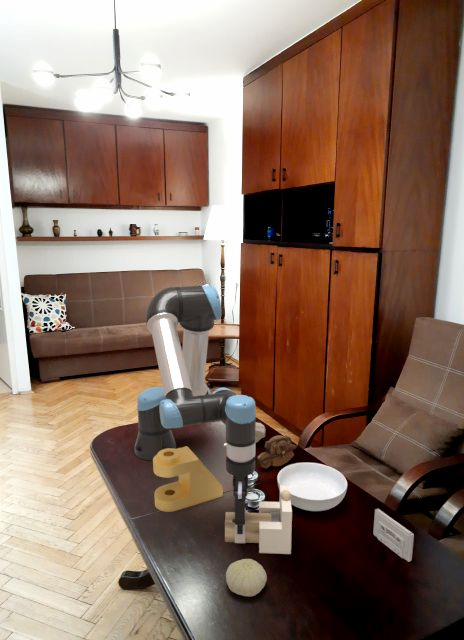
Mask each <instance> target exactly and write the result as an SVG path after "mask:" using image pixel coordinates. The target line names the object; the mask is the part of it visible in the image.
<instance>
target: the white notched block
mask: <svg viewBox="0 0 464 640" xmlns="http://www.w3.org/2000/svg"><path fill="white" fill-rule="evenodd" d="M290 497H291V494H290V492H289V486H280V490H279V501H258V513H271V512H279V521H280V522H262V521H259V543H258V549H259V550H258V553H259V554H276V555H277V554H278V555H279V554H280V555H281V554H282V555H292V527H293V525H292V521H293V509H292V504H291V500H290Z"/></svg>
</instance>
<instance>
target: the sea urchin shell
mask: <svg viewBox="0 0 464 640" xmlns="http://www.w3.org/2000/svg"><path fill="white" fill-rule="evenodd" d="M267 580H268V576H267V573H266V570H265V569H264V567H263V566H262V565H261V564H260V563H259V562H258V561H256V560H254V559H252V558H243V559H239V560H236V561H233V562H231V563H230V564H229V566H228V567H227V570H226V572H225V581H226V585H227V586H228V589H229V590H230V591H231V592H232V593H235V594H237V595H239V596H243V597H254V596H256V595H257V594H259V593H260V592H261V591H262V589H264V587H265V586H266V583H267Z"/></svg>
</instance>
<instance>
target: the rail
mask: <svg viewBox="0 0 464 640" xmlns="http://www.w3.org/2000/svg"><path fill="white" fill-rule="evenodd" d="M224 516H225V517H224V518H225V519H224V542H225V543H235V523H234V522H232V519H235V511H225V515H224ZM259 521H262V522H280V521H279V512H271V513H259V512H246V513H245V543H244V544H246V543H249V544H251V543H252V544H253V543H254V544H259Z"/></svg>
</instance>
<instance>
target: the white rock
mask: <svg viewBox="0 0 464 640" xmlns="http://www.w3.org/2000/svg"><path fill="white" fill-rule="evenodd" d="M266 430H267V429H266V427H265V425H264V424H262V423H261V422H257V421H256V427H255V440H256V443H258V442H259V441H260V440H261V439H262V438H265V437H266V433H267V432H266Z"/></svg>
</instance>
